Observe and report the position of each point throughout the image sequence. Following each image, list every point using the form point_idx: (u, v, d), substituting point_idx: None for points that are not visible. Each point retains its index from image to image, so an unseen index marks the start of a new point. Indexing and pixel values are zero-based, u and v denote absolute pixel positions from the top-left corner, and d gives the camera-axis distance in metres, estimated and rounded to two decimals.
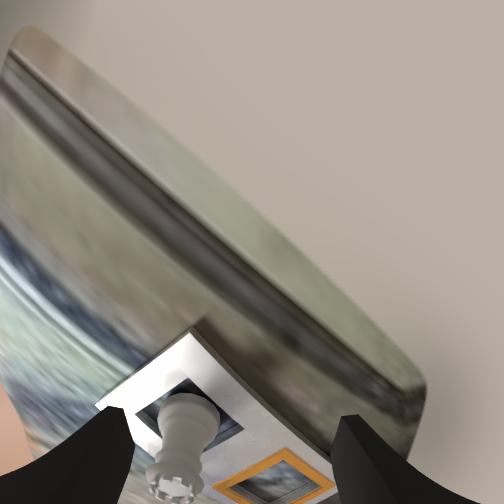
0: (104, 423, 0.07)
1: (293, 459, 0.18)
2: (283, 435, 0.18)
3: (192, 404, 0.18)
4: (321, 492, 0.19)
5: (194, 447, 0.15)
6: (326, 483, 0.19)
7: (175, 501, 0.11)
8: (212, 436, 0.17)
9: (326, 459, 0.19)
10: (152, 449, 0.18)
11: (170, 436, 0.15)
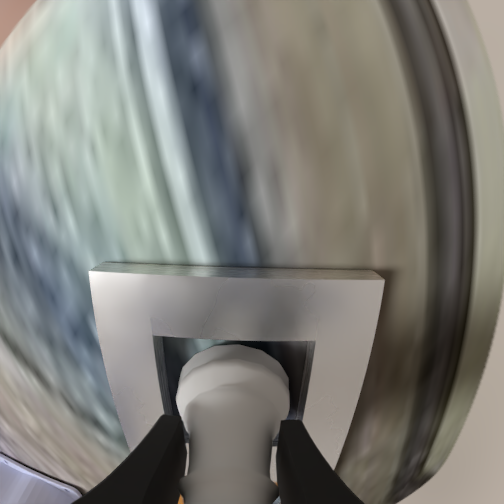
0: (166, 434, 0.07)
1: None
2: None
3: (281, 385, 0.10)
4: None
5: None
6: None
7: None
8: None
9: None
10: (127, 398, 0.10)
11: (237, 435, 0.07)
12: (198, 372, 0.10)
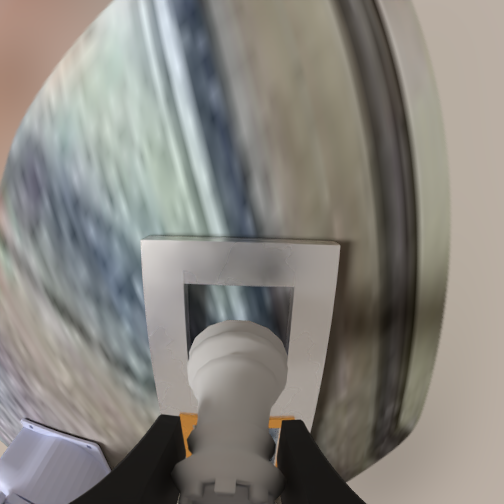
0: (165, 434, 0.07)
1: None
2: (307, 404, 0.17)
3: (282, 360, 0.12)
4: None
5: None
6: None
7: None
8: None
9: None
10: (159, 336, 0.16)
11: (244, 396, 0.09)
12: (212, 341, 0.11)
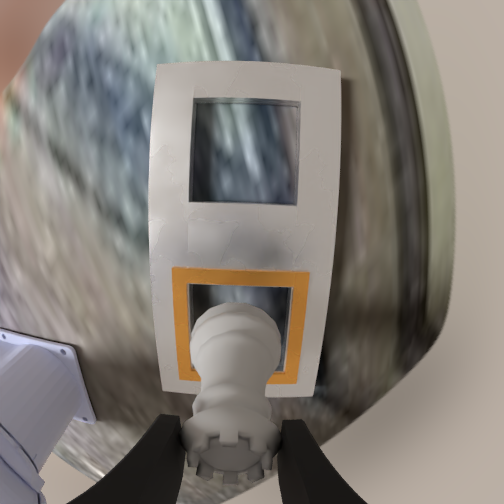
0: (164, 434, 0.07)
1: (302, 297, 0.16)
2: (323, 251, 0.16)
3: (276, 337, 0.13)
4: (275, 381, 0.18)
5: None
6: (293, 370, 0.17)
7: (208, 475, 0.07)
8: None
9: None
10: (161, 156, 0.15)
11: (243, 365, 0.11)
12: (213, 320, 0.13)
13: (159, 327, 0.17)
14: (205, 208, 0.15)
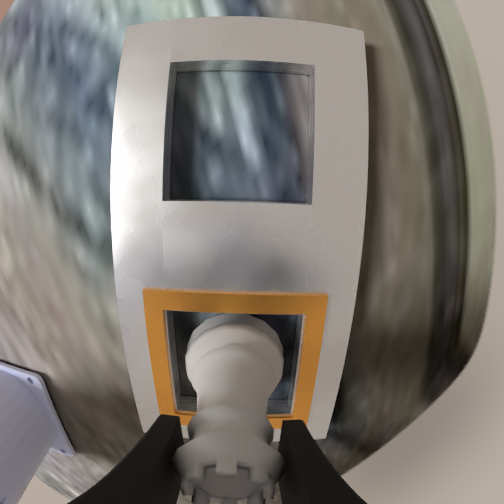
0: (164, 434, 0.07)
1: (317, 327, 0.12)
2: (346, 265, 0.12)
3: (278, 351, 0.12)
4: (280, 425, 0.13)
5: None
6: (303, 413, 0.13)
7: (205, 503, 0.06)
8: None
9: None
10: (127, 140, 0.10)
11: (242, 383, 0.10)
12: (210, 332, 0.12)
13: (132, 362, 0.13)
14: (185, 209, 0.11)
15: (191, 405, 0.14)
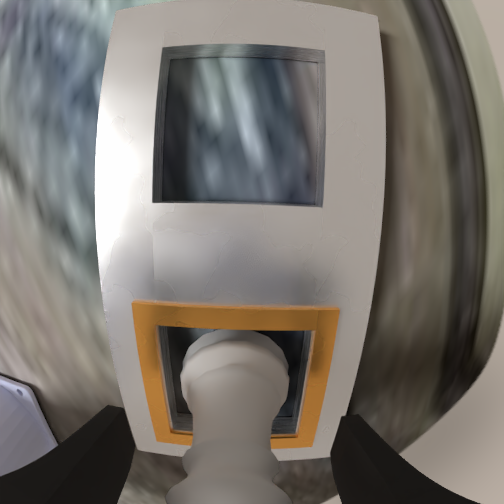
0: (104, 423, 0.07)
1: (326, 344, 0.11)
2: (360, 276, 0.10)
3: (283, 370, 0.11)
4: (284, 445, 0.12)
5: None
6: (309, 433, 0.12)
7: None
8: None
9: None
10: (113, 134, 0.09)
11: (244, 411, 0.08)
12: (207, 351, 0.10)
13: (123, 380, 0.11)
14: (178, 212, 0.10)
15: (187, 424, 0.12)
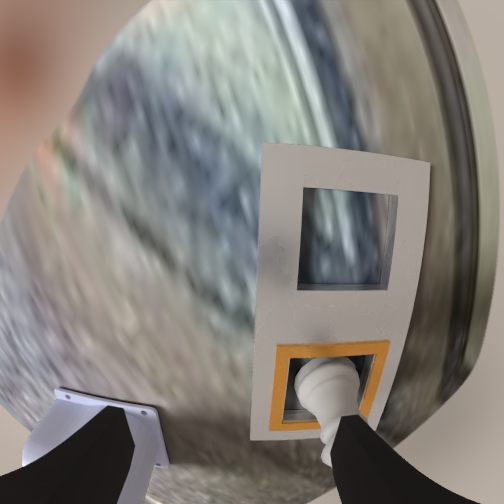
0: (104, 423, 0.07)
1: (381, 360, 0.18)
2: (402, 323, 0.17)
3: (358, 376, 0.18)
4: None
5: None
6: (365, 414, 0.19)
7: None
8: None
9: None
10: (271, 247, 0.16)
11: (348, 400, 0.15)
12: (319, 369, 0.17)
13: (257, 393, 0.18)
14: (311, 295, 0.17)
15: (290, 416, 0.19)
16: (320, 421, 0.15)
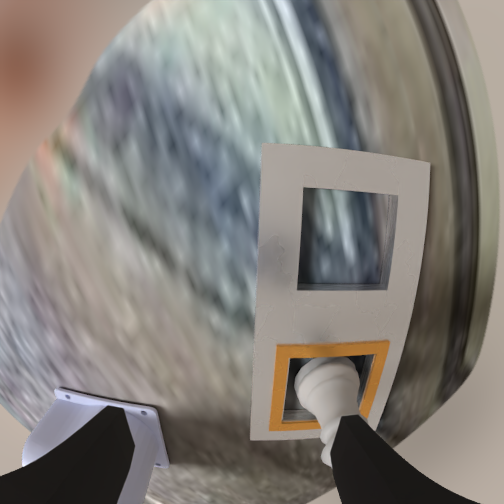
0: (104, 423, 0.07)
1: (381, 360, 0.18)
2: (402, 323, 0.17)
3: (358, 376, 0.18)
4: None
5: None
6: (365, 414, 0.19)
7: None
8: None
9: None
10: (271, 247, 0.16)
11: (348, 400, 0.15)
12: (319, 369, 0.17)
13: (257, 393, 0.18)
14: (311, 295, 0.17)
15: (290, 416, 0.19)
16: (320, 421, 0.15)
